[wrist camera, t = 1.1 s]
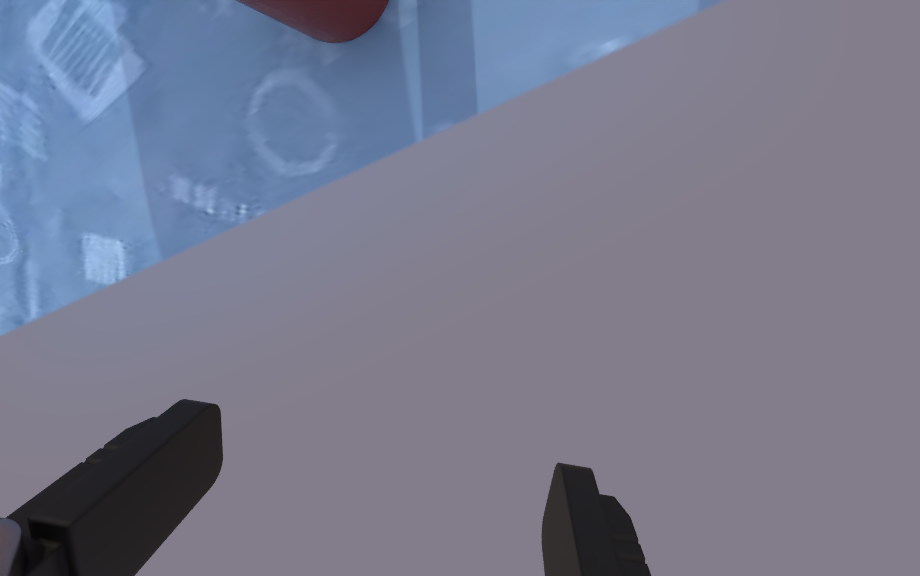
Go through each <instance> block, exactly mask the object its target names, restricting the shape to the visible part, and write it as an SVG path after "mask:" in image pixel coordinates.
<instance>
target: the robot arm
mask: <svg viewBox="0 0 920 576" xmlns="http://www.w3.org/2000/svg"><path fill="white" fill-rule="evenodd" d="M222 461H223V450H222V430H221V412H220V408H219V406H218V405H216V404H211V403H206V402H200V401H193V400H187V399H183V400H180V401H178V402H177V403H175V404H174V405H173V406H171V407H170V408H169V409H168V410H166V411H165V412H164V413H162V414H161V415H160V416H158V417H157V418H156V417H152V418H150V419H148V420H145V421H143V422H141V423H139V424H137V425H134V426H132V427H130V428H127V429H126V430H124V431H123V432H122V433H120V434H119V435H118V436H116V437H115V438H113V439H112V440H111V441H109V442H108V443H107V444H105V445H104V448H103V449H101V448H100V449H98V450H97V451H96V452H94V453H93V454H92V455H90V456H89V457H88V458H86V461H85V462H84V463H83V462H81V463H80V464H78V465H77V466H76V467H74V468H73V469H71V470H70V471H69V472H67V473H66V474H65V475H63V476H62V477H60V478H59V479H58V480H56V481H55V482H54V483H52V484H51V485H50V486H48V487H47V488H46V489H44V490H43V491H41V492H40V493H39V494H37V495H36V496H35V497H33V498H32V499H31V500H29V501H28V502H27V503H25V504H24V505H22V506H21V507H20V508H18V509H17V510H16V511H14V512H13V513H12V514H10V515H9V516H7V517H6V518H0V576H135V574H136V573H137V572H138V571H139V570H140V569H141V568H142V566H143V565H144V564H145V563H146V562H147V561H148V559H149V558H150V557H151V556H152V555H153V554H154V552H155V551H156V550H157V549H158V548H159V547H160V546H161V544H162V543H163V542H164V541H165V540H166V539H167V537H168V536H169V535H170V534H171V533H172V532H173V531H174V529H175V528H176V527H177V526H178V525H179V524H180V523H181V521H182V520H183V519H184V518H185V517H186V516H187V514H188V513H189V512H190V511H191V510H192V509H193V507H194V506H195V505H196V504H197V503H198V502H199V501H200V499H201V498H202V497H203V496H204V495H205V494H206V493H207V491H208V490H209V489H210V488H211V487H212V485H213V484H214V483H215V481H216V479H217V477H218V475H219V472H220V470H221V466H222ZM542 551H543V561H544V571H545V576H651V574H650V571H649V568H648V566H647V564H645V557H644V554H643V552H642V549H641V546H640V544H638V537H637V534H636V532H635V529H634V526H633V523H632V520H631V518H630V516H629V515H628V514H627V513H626V511H625V510H624V509H623V507H622V506H621V505H620V504H619V502H618V501H617V500H616V498H615V497H613V496H607V495H601V494H599V491H598V488H597V484H596V481H595V477H594V474H593V471H592V469H591V468H587V467H580V466H575V465H569V464H563V463H557V465H556V467H555V470H554V474H553V478H552V482H551V486H550V490H549V495H548V499H547V503H546V507H545V512H544V517H543V523H542Z"/></svg>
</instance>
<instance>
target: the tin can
mask: <svg viewBox="0 0 920 576" xmlns="http://www.w3.org/2000/svg"><path fill="white" fill-rule="evenodd" d="M236 1H238V2H240V3H242V4H244V5H246V6H248V7H250V8H252V9H254V10H256V11H258V12H261V13H263V14H265V15H267V16H269V17H271V18H273V19H275V20H277V21H279V22H281V23H283V24H285V25H287V26H290V27H292V28H294V29H296V30H298V31H300V32H302V33H304V34H306V35H308V36H310V37H312V38H315V39H317V40H320V41H324V42H331V43H338V42H345V41H349V40H352V39H354V38H356V37H359V36H360V35H362V34H363V33H365V32H366V31H367V30H368V29H370V28H371V27H372V26H373V25H374V23H375V22H376V21H377V20H378V19H379V17H380V16H381V14H382V13H383V11H384V9H385V7H386V5H387V2H388V0H236Z"/></svg>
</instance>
